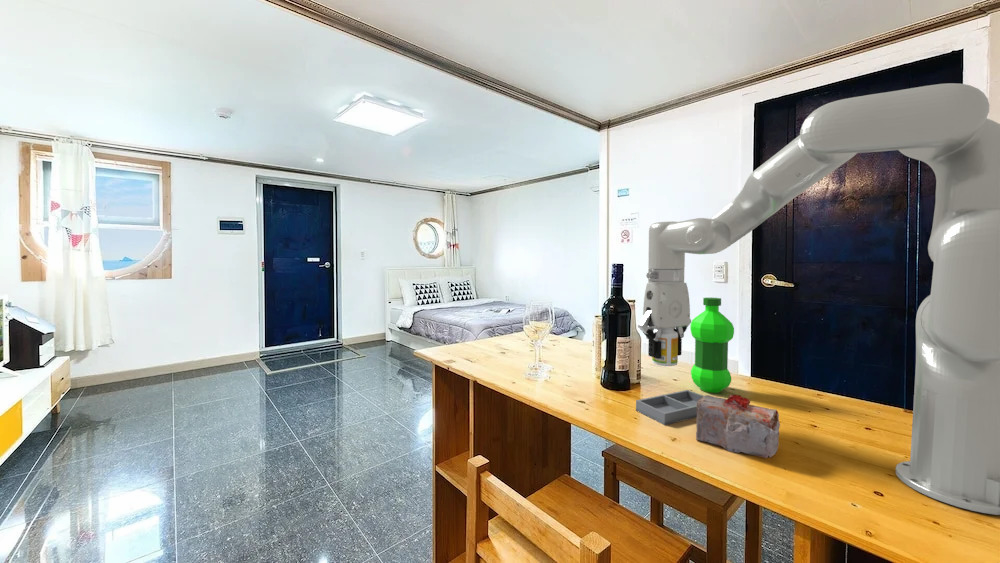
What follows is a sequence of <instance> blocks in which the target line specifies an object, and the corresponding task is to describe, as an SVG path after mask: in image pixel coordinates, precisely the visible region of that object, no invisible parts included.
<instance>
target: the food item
mask: <svg viewBox="0 0 1000 563" xmlns="http://www.w3.org/2000/svg"><path fill="white" fill-rule="evenodd" d="M750 403H751V400H750V399H749V398H747V397H743V396H741V395H740V394H738V395H737V394H730V395H728V398H723V397H722V398H721V397H715V396H712V395H706V394H705V395H703V396H702V397H701V398H700V399H699V400H698V402H697V417H696V431H695V437H696V440H697V441H699V442H700V441H701V442H706V443H707V444H708V443H709V444H712V445H714V446H715V445H716V446H717V447H718V446H719V447H722V448H723V449H725V450H726V451H728V452H730V453H736V454H737V453H739V454H740V453H741V452H742V453H744V454H747V455H752V456H755V457H759V458H763V459H767V458H772V457H773V456H774V455H776V453H777V451H778V449H779V444H780V441H779V437H780V427H781V426H780V425H781V423H780V419H779V417H780V413H779V411H778V410H777V409H775V408H769V407H768V408H767V407H762V406H758V405H754V404H750Z"/></svg>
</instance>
